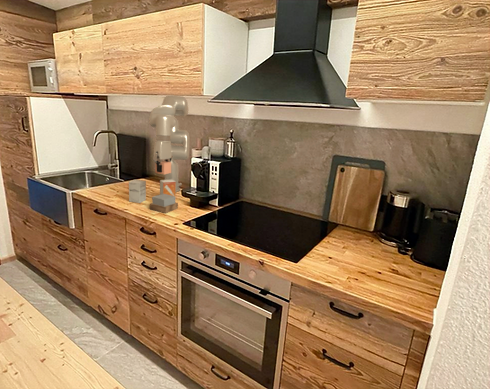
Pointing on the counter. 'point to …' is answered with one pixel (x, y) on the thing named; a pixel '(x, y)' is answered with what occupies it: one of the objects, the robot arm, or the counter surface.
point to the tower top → (163, 200)
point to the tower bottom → (164, 208)
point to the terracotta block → (164, 167)
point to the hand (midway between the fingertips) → (163, 170)
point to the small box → (168, 187)
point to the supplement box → (137, 191)
